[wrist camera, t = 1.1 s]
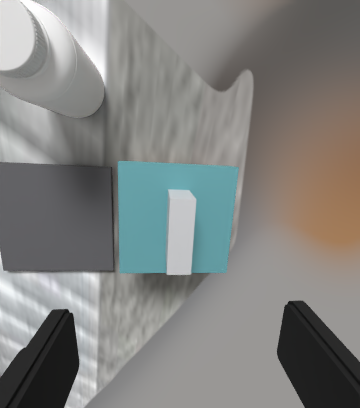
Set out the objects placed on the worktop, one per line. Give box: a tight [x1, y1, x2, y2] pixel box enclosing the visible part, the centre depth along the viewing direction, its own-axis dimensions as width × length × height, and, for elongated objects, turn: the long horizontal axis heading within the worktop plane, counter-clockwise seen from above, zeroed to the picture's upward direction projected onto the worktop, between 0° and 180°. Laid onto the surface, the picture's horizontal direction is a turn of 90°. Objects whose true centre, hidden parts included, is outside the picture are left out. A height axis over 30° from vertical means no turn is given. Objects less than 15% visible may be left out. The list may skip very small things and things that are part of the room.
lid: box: [118, 161, 239, 275], centre depth 25 cm, size 14×14×8 cm
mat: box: [0, 162, 114, 271], centre depth 33 cm, size 17×17×1 cm
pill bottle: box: [0, 0, 104, 118], centre depth 22 cm, size 8×8×15 cm
